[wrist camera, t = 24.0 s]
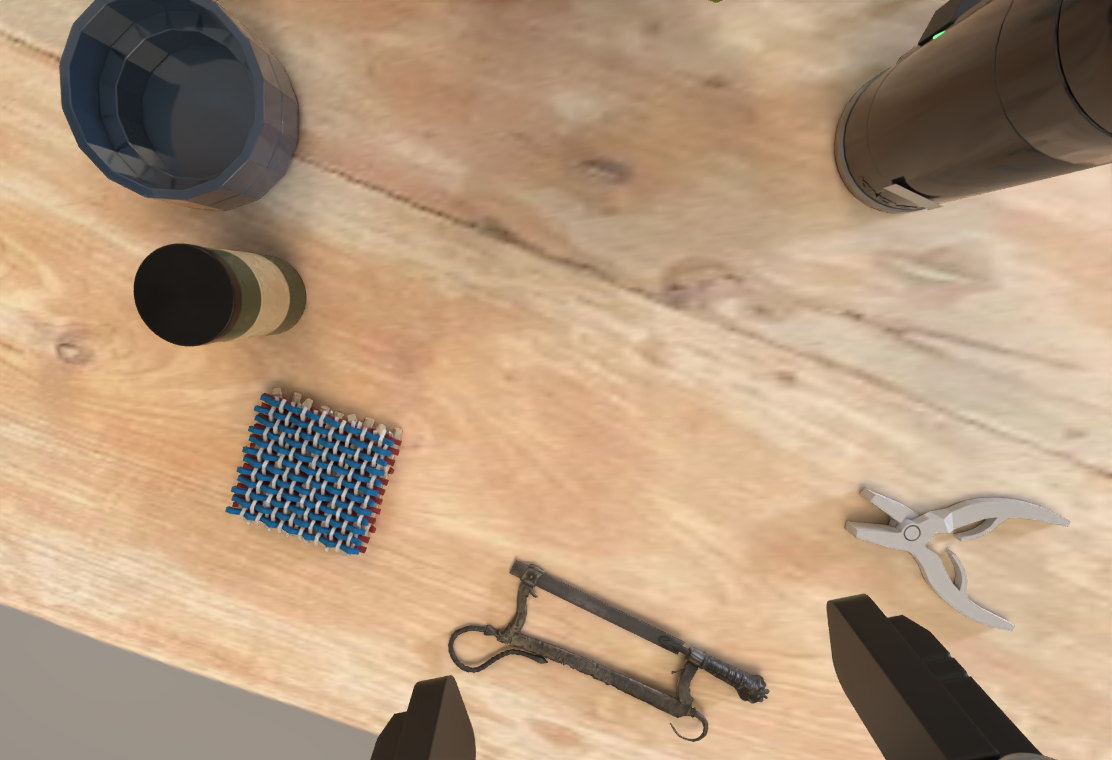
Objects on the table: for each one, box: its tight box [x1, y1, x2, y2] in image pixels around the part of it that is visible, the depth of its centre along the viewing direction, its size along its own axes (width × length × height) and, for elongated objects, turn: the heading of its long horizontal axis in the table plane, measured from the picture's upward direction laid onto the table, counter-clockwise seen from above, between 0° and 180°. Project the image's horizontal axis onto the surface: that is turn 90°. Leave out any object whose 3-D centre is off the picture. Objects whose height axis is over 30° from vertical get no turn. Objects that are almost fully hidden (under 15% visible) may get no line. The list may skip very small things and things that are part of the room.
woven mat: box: [225, 388, 403, 556], centre depth 41 cm, size 10×11×2 cm
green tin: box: [134, 244, 306, 346], centre depth 36 cm, size 6×6×9 cm
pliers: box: [845, 488, 1070, 631], centre depth 42 cm, size 10×2×15 cm
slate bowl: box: [59, 0, 298, 211], centre depth 36 cm, size 12×12×5 cm
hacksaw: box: [448, 560, 769, 742], centre depth 44 cm, size 24×10×2 cm, turn 63°
